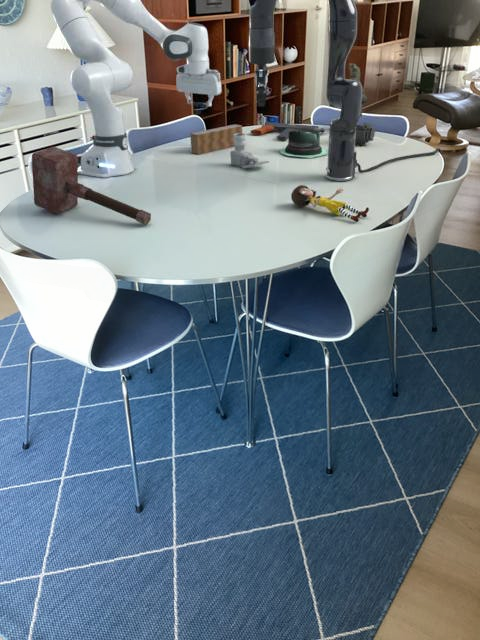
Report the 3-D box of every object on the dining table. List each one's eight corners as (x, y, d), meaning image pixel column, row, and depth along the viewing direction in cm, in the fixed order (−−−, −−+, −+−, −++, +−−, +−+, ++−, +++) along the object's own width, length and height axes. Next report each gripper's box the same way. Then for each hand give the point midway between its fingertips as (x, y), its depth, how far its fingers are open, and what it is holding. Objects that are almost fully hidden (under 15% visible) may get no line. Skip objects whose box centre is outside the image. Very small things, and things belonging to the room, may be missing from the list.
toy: (345, 120, 249) (377, 123, 242) (343, 139, 253) (375, 143, 246) (337, 123, 243) (369, 127, 236) (336, 143, 247) (367, 147, 240)
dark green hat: (332, 145, 241) (326, 158, 224) (294, 164, 249) (286, 177, 233) (317, 113, 235) (310, 124, 219) (279, 133, 244) (269, 145, 228)
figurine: (354, 211, 157) (283, 185, 169) (349, 235, 161) (280, 207, 174) (376, 199, 166) (307, 175, 178) (371, 222, 170) (303, 197, 182)
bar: (198, 154, 236) (197, 135, 232) (191, 152, 239) (190, 133, 235) (242, 144, 251) (242, 125, 247) (235, 142, 254) (235, 124, 250)
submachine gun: (244, 131, 261) (267, 121, 279) (244, 137, 262) (267, 127, 281) (306, 137, 247) (327, 126, 266) (306, 143, 248) (326, 132, 267)
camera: (240, 131, 219) (270, 136, 210) (241, 161, 225) (269, 168, 216) (225, 135, 213) (254, 141, 204) (226, 165, 219) (254, 172, 210)
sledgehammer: (159, 186, 162) (53, 145, 173) (139, 196, 154) (29, 152, 166) (154, 239, 172) (54, 196, 183) (135, 250, 164) (32, 205, 176)
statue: (367, 132, 266) (374, 63, 251) (349, 133, 264) (355, 64, 249) (357, 127, 275) (362, 61, 260) (339, 129, 273) (344, 62, 258)
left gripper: (224, 69, 220) (224, 106, 227) (182, 66, 229) (184, 101, 236) (215, 71, 215) (216, 108, 222) (173, 67, 224) (175, 104, 231)
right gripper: (274, 47, 156) (273, 108, 164) (274, 43, 168) (274, 100, 177) (247, 47, 157) (248, 108, 165) (250, 43, 169) (250, 100, 177)
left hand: (199, 105), depth 229 cm, fingers open, 8 cm apart
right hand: (261, 103), depth 171 cm, fingers open, 8 cm apart
